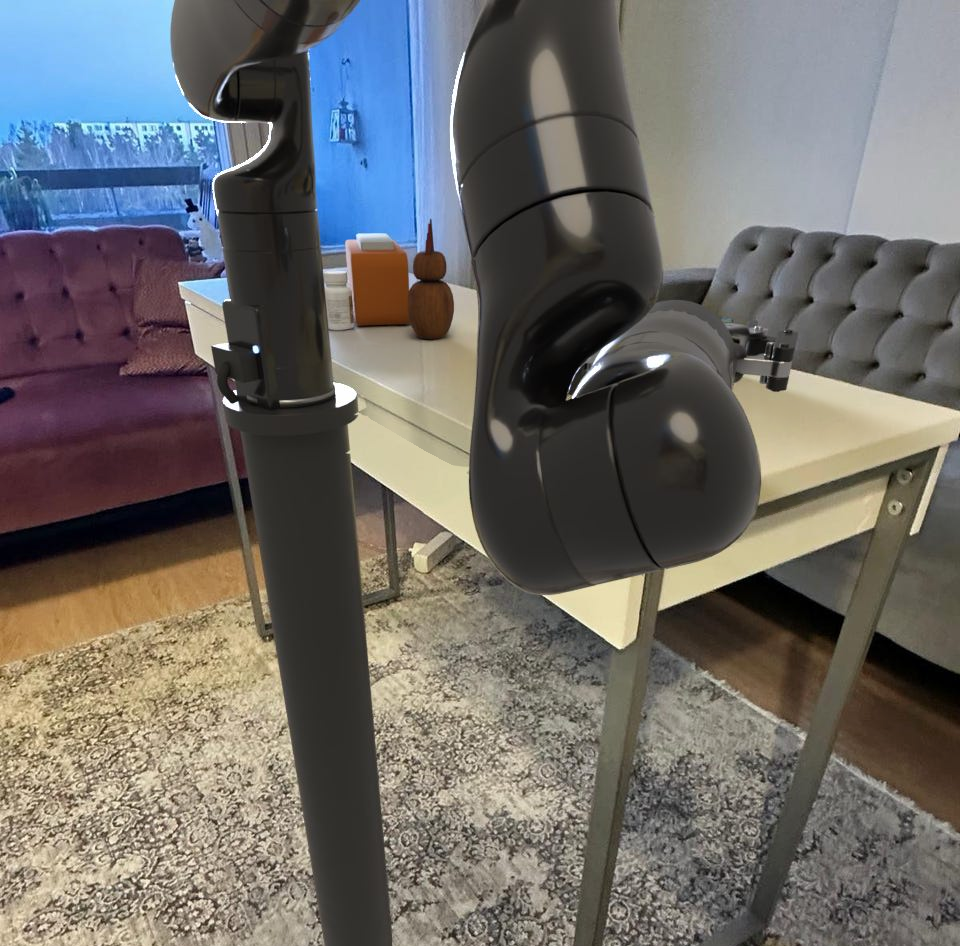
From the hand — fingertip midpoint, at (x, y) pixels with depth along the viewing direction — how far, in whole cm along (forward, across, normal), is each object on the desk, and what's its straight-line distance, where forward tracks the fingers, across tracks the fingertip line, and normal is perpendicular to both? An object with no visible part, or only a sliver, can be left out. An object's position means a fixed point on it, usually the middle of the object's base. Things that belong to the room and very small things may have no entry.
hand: (688, 332), depth 55 cm
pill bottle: (+51, +55, +11) cm, 76 cm away
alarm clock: (+64, +54, +11) cm, 85 cm away
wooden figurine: (+50, +39, +11) cm, 64 cm away
